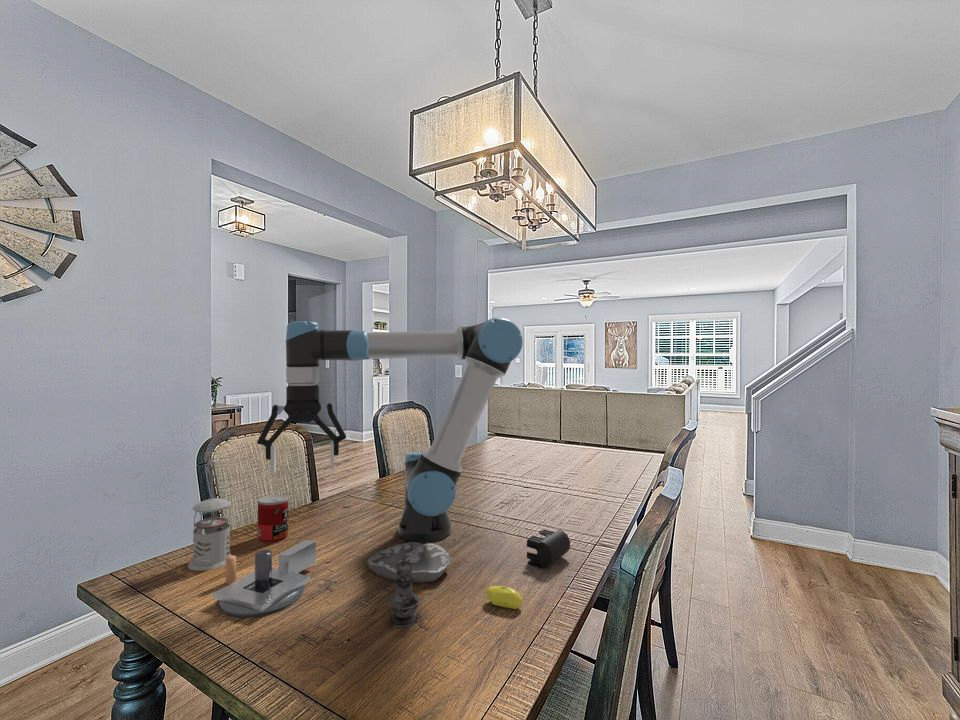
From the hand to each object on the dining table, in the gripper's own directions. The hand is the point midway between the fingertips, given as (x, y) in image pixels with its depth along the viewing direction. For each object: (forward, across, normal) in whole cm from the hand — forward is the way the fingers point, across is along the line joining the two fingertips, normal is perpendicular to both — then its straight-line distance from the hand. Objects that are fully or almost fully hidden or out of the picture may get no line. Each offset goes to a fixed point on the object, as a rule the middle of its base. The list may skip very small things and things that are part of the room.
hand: (303, 470), depth 111 cm
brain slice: (+23, -25, +11) cm, 36 cm away
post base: (+22, +7, +15) cm, 28 cm away
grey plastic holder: (+21, +5, +12) cm, 25 cm away
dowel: (+22, +15, +6) cm, 27 cm away
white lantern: (+22, +22, -7) cm, 32 cm away
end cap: (+23, -58, +18) cm, 65 cm away
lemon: (+23, -40, +33) cm, 57 cm away
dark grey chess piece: (+23, -20, +32) cm, 44 cm away
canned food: (+22, +9, -18) cm, 30 cm away
